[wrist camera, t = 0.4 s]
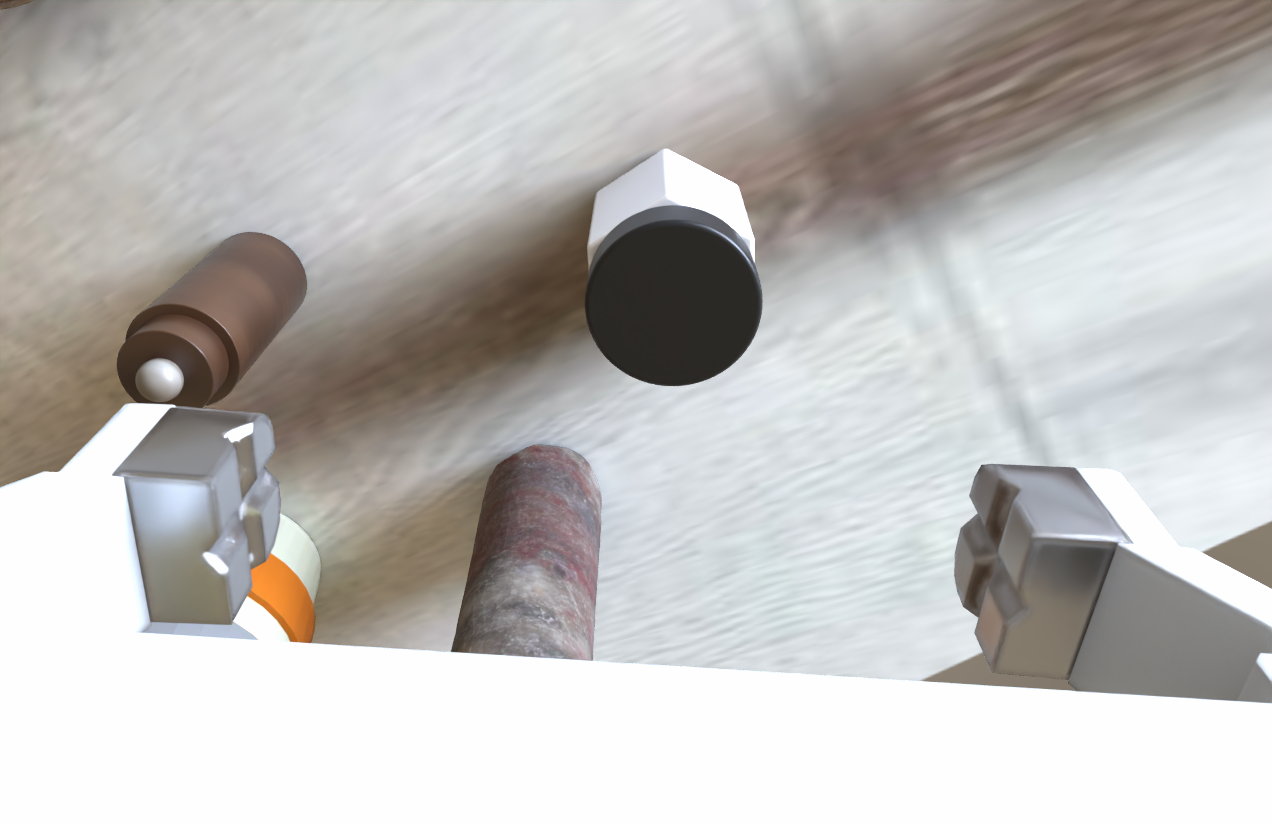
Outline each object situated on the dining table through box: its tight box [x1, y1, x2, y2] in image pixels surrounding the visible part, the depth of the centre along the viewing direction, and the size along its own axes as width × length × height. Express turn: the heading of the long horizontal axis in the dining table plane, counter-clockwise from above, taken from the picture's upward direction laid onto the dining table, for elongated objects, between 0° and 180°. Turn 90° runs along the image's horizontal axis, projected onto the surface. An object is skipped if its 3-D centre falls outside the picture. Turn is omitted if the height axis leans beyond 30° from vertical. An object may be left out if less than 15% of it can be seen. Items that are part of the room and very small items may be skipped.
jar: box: [585, 149, 762, 386], centre depth 52 cm, size 9×8×12 cm
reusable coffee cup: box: [141, 514, 321, 643], centre depth 61 cm, size 12×13×15 cm
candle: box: [451, 445, 601, 661], centre depth 56 cm, size 8×7×20 cm
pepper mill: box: [117, 232, 307, 408], centre depth 52 cm, size 5×5×15 cm
